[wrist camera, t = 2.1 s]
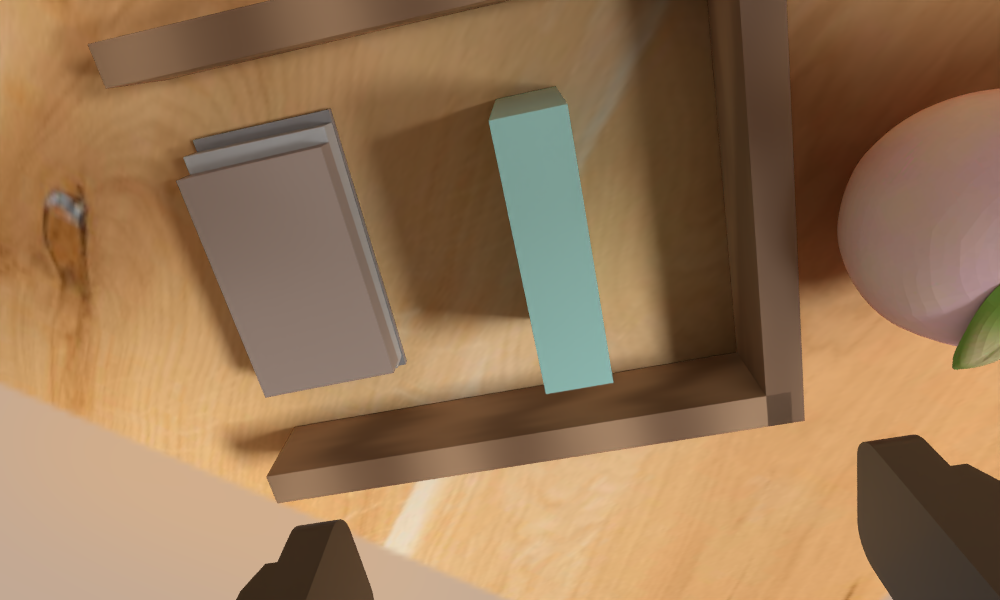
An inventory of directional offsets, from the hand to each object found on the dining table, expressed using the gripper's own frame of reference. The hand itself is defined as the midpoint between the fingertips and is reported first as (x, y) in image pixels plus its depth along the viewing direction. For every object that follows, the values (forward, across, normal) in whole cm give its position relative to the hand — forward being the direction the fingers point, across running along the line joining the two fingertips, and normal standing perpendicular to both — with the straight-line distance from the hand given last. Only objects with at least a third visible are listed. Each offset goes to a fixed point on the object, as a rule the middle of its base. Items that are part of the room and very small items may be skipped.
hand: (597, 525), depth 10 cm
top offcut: (+18, +11, 0) cm, 21 cm away
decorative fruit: (+20, -14, +2) cm, 25 cm away
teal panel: (+20, 0, 0) cm, 20 cm away
